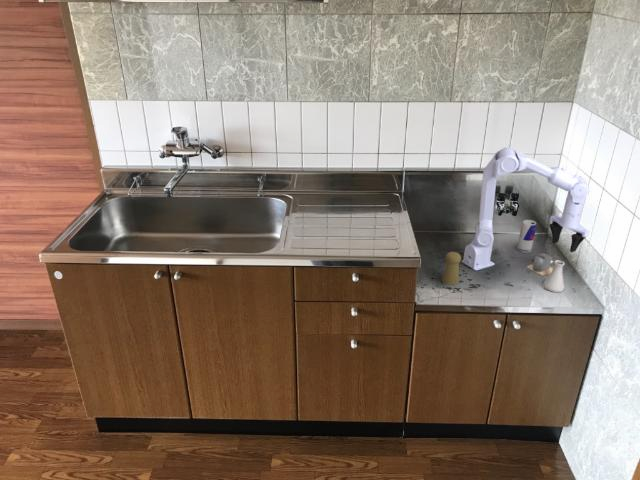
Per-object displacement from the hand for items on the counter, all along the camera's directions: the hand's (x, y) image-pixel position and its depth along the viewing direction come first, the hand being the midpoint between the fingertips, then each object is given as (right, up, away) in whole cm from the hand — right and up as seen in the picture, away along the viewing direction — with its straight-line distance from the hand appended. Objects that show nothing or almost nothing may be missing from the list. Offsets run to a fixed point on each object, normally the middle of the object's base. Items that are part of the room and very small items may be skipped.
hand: (563, 246), depth 184 cm
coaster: (-5, -8, +6) cm, 12 cm away
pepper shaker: (-41, -12, -1) cm, 43 cm away
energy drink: (-6, -2, +20) cm, 21 cm away
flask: (-6, -14, -4) cm, 16 cm away
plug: (-5, -8, +6) cm, 11 cm away
